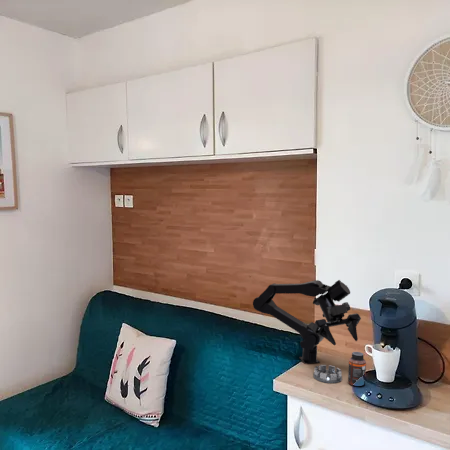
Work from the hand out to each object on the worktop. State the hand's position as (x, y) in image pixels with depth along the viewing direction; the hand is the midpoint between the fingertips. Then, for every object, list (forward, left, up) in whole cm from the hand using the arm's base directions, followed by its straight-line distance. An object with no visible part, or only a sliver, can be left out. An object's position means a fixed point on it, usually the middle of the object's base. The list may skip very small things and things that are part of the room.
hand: (346, 342), depth 169 cm
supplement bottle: (+6, +1, -13) cm, 15 cm away
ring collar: (-1, -7, -13) cm, 15 cm away
